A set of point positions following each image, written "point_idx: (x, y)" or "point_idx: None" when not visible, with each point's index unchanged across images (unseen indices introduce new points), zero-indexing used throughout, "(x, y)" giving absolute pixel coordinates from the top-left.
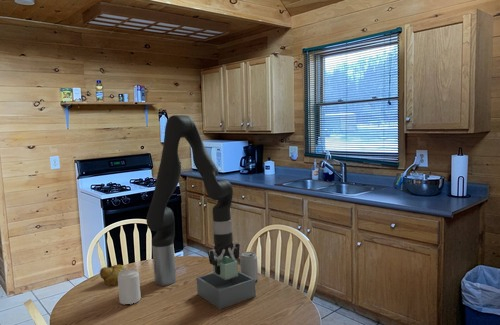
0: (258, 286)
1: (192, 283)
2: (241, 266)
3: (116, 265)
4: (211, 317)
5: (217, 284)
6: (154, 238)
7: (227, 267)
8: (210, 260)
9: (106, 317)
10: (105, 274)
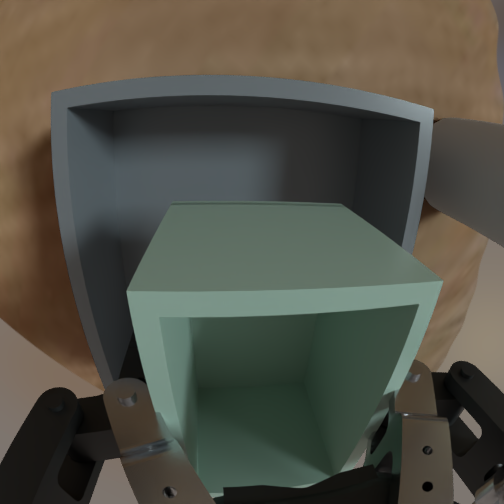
0: (417, 256)
1: None
2: (480, 169)
3: None
4: (81, 362)
5: (257, 106)
6: None
7: (218, 468)
8: (36, 442)
9: None
10: None
